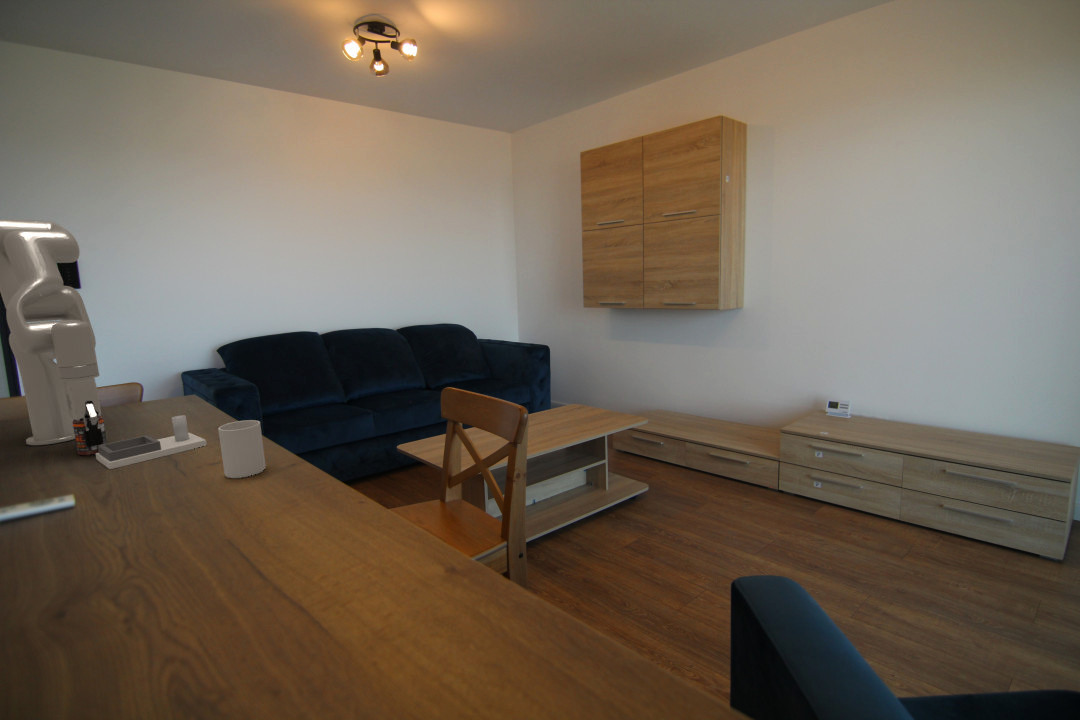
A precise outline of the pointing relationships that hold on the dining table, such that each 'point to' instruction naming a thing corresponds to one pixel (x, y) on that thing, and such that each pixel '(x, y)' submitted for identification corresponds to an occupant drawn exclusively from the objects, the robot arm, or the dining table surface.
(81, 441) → the supplement bottle
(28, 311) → the robot arm
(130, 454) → the framed tray with peg
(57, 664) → the dining table surface
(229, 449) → the mug
